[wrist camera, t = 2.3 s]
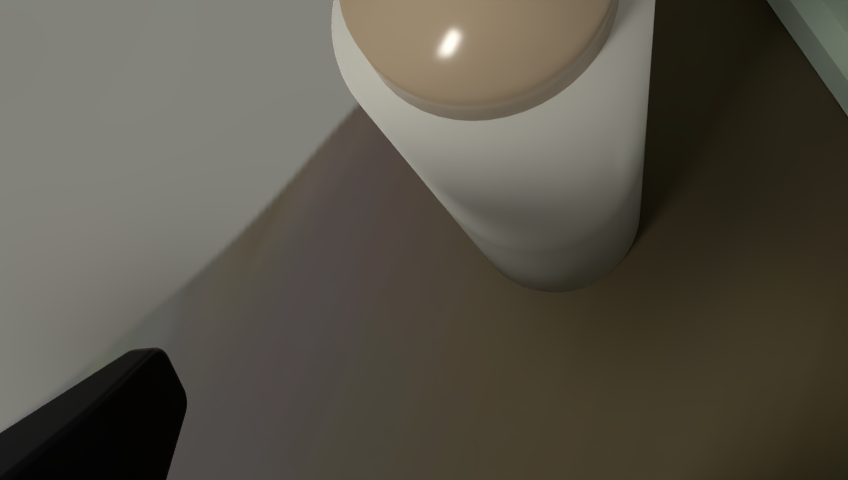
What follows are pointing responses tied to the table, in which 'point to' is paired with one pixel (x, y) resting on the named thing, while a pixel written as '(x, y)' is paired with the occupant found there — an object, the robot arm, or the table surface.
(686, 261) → the table surface
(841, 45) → the spice stand
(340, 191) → the table surface
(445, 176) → the spice jar
